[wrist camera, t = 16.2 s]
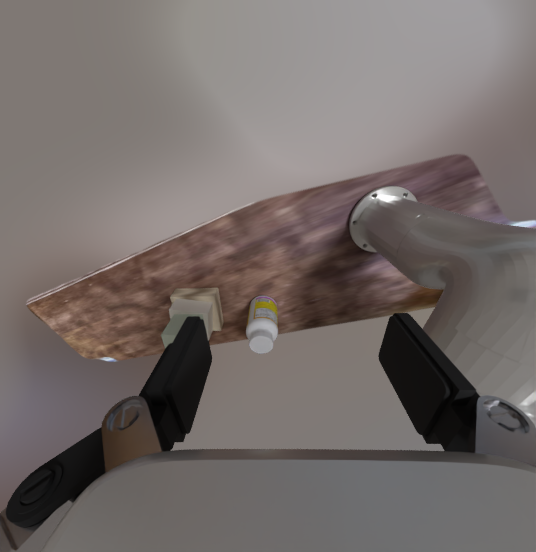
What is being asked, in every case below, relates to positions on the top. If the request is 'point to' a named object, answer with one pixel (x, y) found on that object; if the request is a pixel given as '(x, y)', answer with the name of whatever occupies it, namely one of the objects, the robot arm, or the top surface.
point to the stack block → (175, 327)
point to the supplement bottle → (262, 324)
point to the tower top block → (194, 311)
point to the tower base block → (203, 295)
